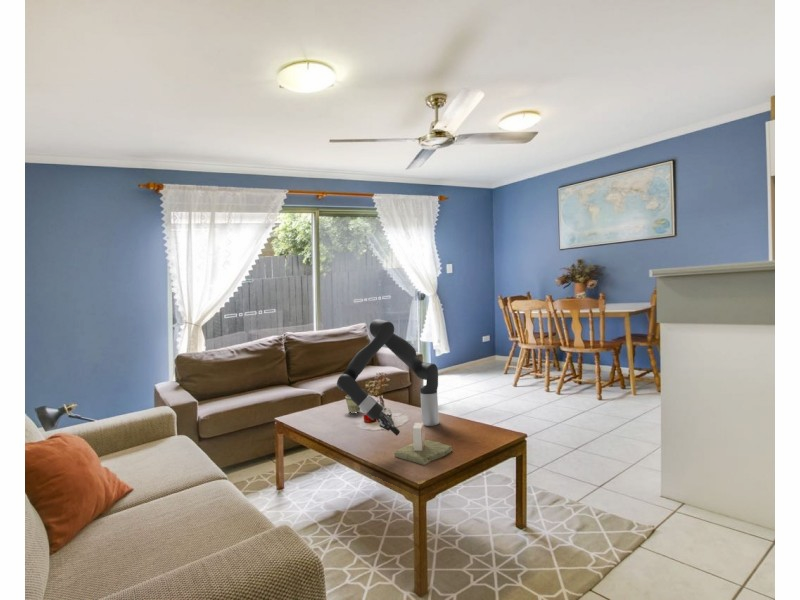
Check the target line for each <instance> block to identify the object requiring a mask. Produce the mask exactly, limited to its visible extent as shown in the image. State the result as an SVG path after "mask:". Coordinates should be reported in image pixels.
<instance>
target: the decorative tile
mask: <svg viewBox="0 0 800 600" xmlns="http://www.w3.org/2000/svg"><path fill="white" fill-rule="evenodd" d="M424 441H425V445H424V448H423V451H414V445H413V442H412V443H410V444H408V445H405V446H403V447H402V448H398V449H397V450H396V451H395V452H394V457H396V458H398V459H402V460H405V461H409V462H412V463H417V464H419V465H423V466H425V465H427V464H429V463H431V462H432V461H435V460H437V459H440V458H442V457H444V456H447V455H448V454H449V453H451V451H452V452H453V448H452V445H447V444H444V443H441V442H439V441H432V440H430V439H424Z"/></svg>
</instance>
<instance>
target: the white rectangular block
mask: <svg viewBox="0 0 800 600" xmlns="http://www.w3.org/2000/svg"><path fill="white" fill-rule="evenodd" d="M412 440H413V441H412V443H413V445H414V451H423V448H424V445H425V441H424V440H425V425H424V423H422V422H414V425H413V427H412Z"/></svg>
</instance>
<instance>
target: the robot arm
mask: <svg viewBox="0 0 800 600" xmlns="http://www.w3.org/2000/svg"><path fill="white" fill-rule="evenodd" d="M369 333H370V334H371V336H372V337H373V339H372V341H371V342H369V343H368V344H367V345H365V346H364V347H363V348H362V349H360V350H359V351H358V352H357V353H355V355H354V356H353V358H352V359H351V361H350V362H349V363H348V365H347V367H346V369H345V370H344V371H343V372H342V374H341V375H339V377H338V378H337V381H336V386H337V388H338V390H339V391H342V392H345V393H346V394H347V395H349V396H350V398H351V399H352V401H353V402H354V403H355V404H356V405H357V406H359V408H360V411H362V412H363V413H364V414H365V415H366V416H367V417H368V418H370V420H371V421H374V420H375V419H376V421H377V422H378V424H379V427H380V428H382V429H384V430H386V431H388V432H389V431H390V432H392V433H393V434H394V435H395V436H398V435H399V434H400V433H401V431H400V429H398V428H397V427H396V425H395V422H394V421H393V419H392V418H391V416H390V414H388V413H387V414H386V413H384V412H383V410H384V407H383V406H382V405H381V404H380V403H379V402H378V401H377V400H376V399H374V398H373V396H371V395H370V394H369V393H368V392H367V391H365V390H364V389H363V388H362V387H361V386H360V385H359V384H358V382H357V381H356V380H357V378H358V377H359V376H360V374H361V373H362V372H363V371H364V369H365V368H366V366H367V365H368V363H369V362H370V361H371V360H372V358H373V357H374V356H375V355H376V354H377V353H378V352H379V351H380V350H381V348H382V347H384V345H385V346H386V348H388V349H389V350H390V351H391V352H392V353H393V354H394V356H396V357H397V358H398V359H399V360H400V361H402V362H403V363H404V364H405V365H406V366H407V367H409V369H410V370H411V371H412V372H413V373H414V374H415V375H416V377H417V378H418V379H419V380H425V381H426V383H425V384H426V385H422V386H421V387H420V389H419V391H420V410H421V423H424V427H425V426H426V427H432V426H437V425H439V423H440V421H439V419H440V418H439V399H438V387H439V369H438V366H437V364H435V363H430V362H424V361H422V360H421V359H419V358H418V357H417V350H416V349H415V347H414V346H413V345H412V344H411V343H409V342H408V340H405V339H404V338H403V337H400V336H398V335H397V334H395V325H394V323H392V322H391V321H389V320H384V319H379V318H378V319H377V318H376V319H374V320H372V321H371V322H370V324H369Z"/></svg>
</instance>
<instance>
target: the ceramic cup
mask: <svg viewBox="0 0 800 600" xmlns="http://www.w3.org/2000/svg"><path fill="white" fill-rule="evenodd" d="M345 402H346V404H347V405H346V406H347V409H348V413H349V412H351V413H355V412H359V413H360V412H361V409H360V408H359V406H357V405H356V404H355V403H354V402H353V401H352V399H351V398H350V396H349V395H348V394H347V395H345ZM351 413H350V414H351Z"/></svg>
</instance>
